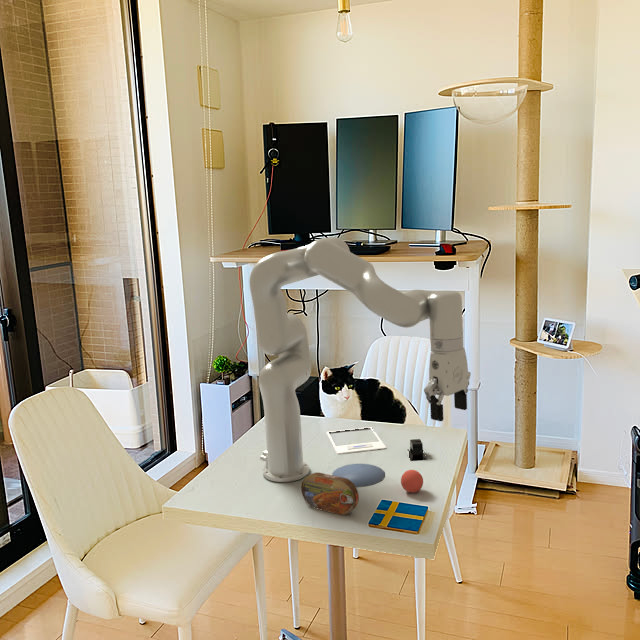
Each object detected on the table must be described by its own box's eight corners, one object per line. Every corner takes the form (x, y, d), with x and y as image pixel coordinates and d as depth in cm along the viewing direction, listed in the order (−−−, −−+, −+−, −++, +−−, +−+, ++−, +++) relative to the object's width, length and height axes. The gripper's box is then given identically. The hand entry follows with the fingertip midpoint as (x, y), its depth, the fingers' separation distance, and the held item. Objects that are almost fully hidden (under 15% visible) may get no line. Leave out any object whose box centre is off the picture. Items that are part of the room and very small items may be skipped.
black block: (433, 464, 178) (433, 449, 178) (407, 466, 178) (406, 450, 177) (424, 447, 191) (424, 432, 190) (399, 449, 190) (399, 434, 190)
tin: (301, 504, 158) (299, 472, 157) (308, 499, 161) (306, 467, 159) (354, 519, 150) (352, 484, 148) (361, 513, 152) (359, 479, 151)
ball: (396, 492, 162) (396, 471, 161) (409, 484, 166) (408, 464, 165) (415, 498, 158) (415, 477, 157) (427, 490, 162) (427, 469, 161)
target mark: (321, 477, 172) (321, 477, 172) (354, 460, 183) (353, 459, 183) (363, 491, 163) (363, 490, 163) (395, 472, 173) (395, 471, 173)
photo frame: (337, 452, 187) (326, 431, 205) (337, 456, 188) (326, 434, 205) (386, 446, 190) (371, 426, 207) (386, 450, 190) (371, 429, 207)
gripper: (438, 353, 143) (441, 427, 146) (481, 338, 155) (482, 407, 158) (411, 350, 148) (414, 421, 152) (454, 335, 160) (456, 402, 163)
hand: (449, 414), depth 155 cm, fingers open, 9 cm apart
